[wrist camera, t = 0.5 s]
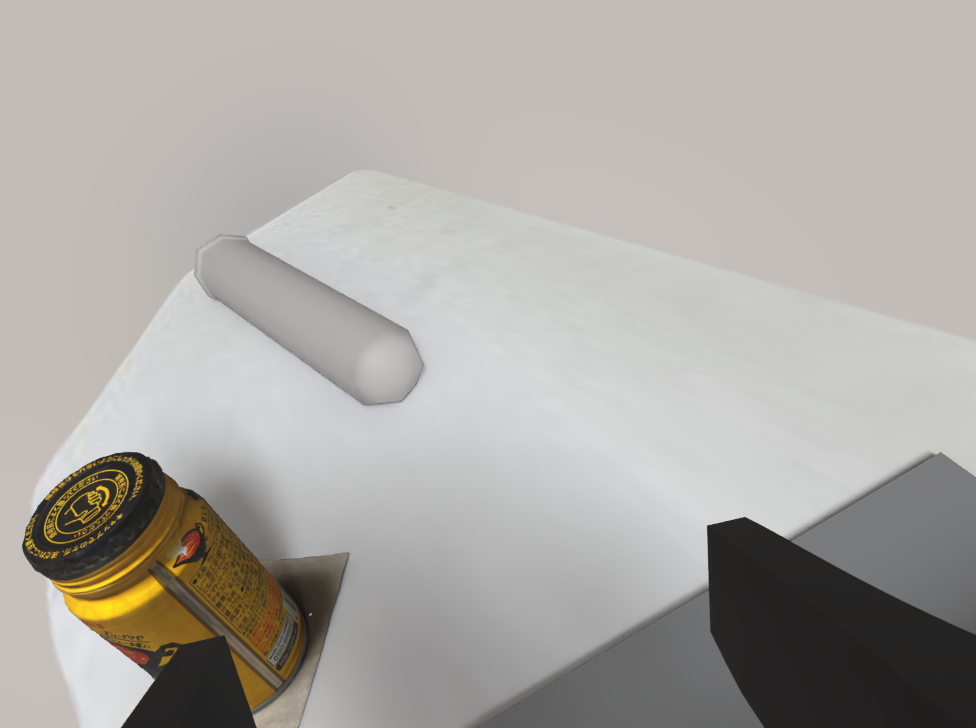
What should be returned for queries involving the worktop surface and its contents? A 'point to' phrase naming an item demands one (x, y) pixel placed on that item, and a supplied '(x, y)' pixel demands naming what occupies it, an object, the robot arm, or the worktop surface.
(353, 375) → the tube
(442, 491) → the worktop surface
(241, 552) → the condiment
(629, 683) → the mat
